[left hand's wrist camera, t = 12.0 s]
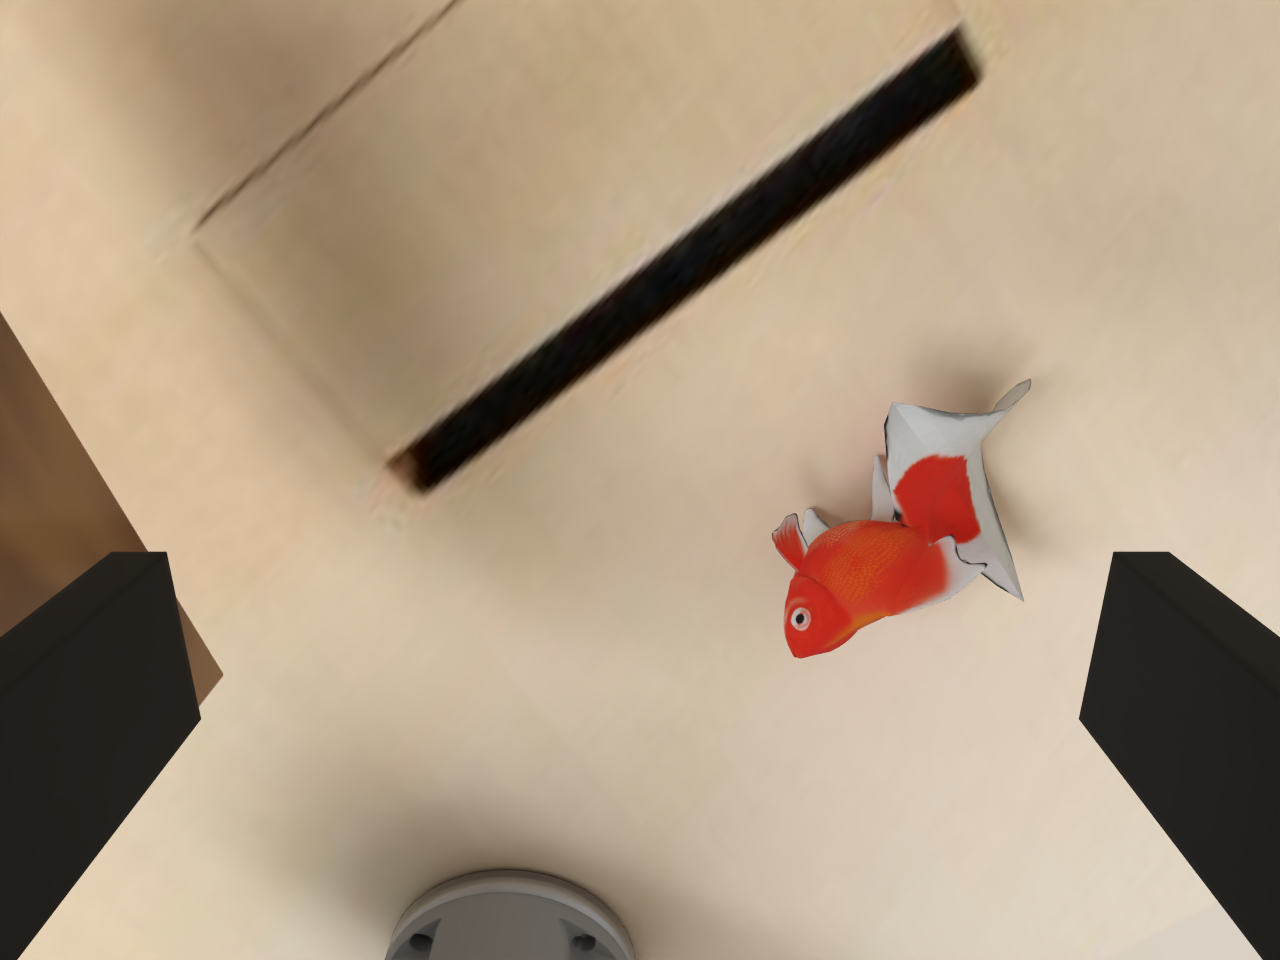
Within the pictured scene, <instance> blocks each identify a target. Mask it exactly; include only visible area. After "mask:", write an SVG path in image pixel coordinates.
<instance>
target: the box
mask: <svg viewBox="0 0 1280 960" xmlns="http://www.w3.org/2000/svg"><path fill="white" fill-rule="evenodd" d="M110 552H148V551H147V549H146V547H145V546H144V544H143V543H142V541H141V539H140V538H139V536H138V534H137V533H136V531H135V530H134V528H133V526H132V525H131V523H130V521H129V520H128V518H127V517H126V515H125V513H124V512H123V510H122V508H121V507H120V505H119V504H118V502H117V500H116V499H115V497H114V495H113V494H112V492H111V491H110V489H109V487H108V486H107V484H106V482H105V481H104V479H103V478H102V476H101V474H100V473H99V471H98V469H97V468H96V466H95V464H94V463H93V461H92V460H91V458H90V456H89V455H88V453H87V451H86V450H85V448H84V447H83V445H82V443H81V442H80V440H79V438H78V437H77V435H76V434H75V432H74V430H73V429H72V427H71V425H70V424H69V422H68V421H67V419H66V417H65V416H64V414H63V412H62V411H61V409H60V408H59V406H58V404H57V403H56V401H55V399H54V398H53V396H52V395H51V393H50V391H49V390H48V388H47V386H46V385H45V383H44V382H43V380H42V378H41V377H40V375H39V373H38V372H37V370H36V369H35V367H34V365H33V364H32V362H31V360H30V359H29V357H28V356H27V354H26V352H25V351H24V349H23V347H22V346H21V344H20V343H19V341H18V339H17V338H16V336H15V334H14V333H13V331H12V330H11V328H10V326H9V325H8V323H7V321H6V320H5V318H4V317H3V315H2V313H1V312H0V637H1V636H2V635H4V634H5V633H6V632H8V631H9V630H10V629H12V628H13V627H14V626H15V625H17V624H18V623H19V622H21V621H22V620H23V619H25V618H26V617H27V616H28V615H30V614H31V613H32V612H34V611H35V610H36V609H38V608H39V607H40V606H41V605H43V604H44V603H45V602H47V601H48V600H49V599H51V598H52V597H53V596H54V595H56V594H57V593H58V592H60V591H61V590H62V589H64V588H65V587H66V586H67V585H69V584H70V583H71V582H73V581H74V580H75V579H77V578H78V577H79V576H80V575H82V574H83V573H84V572H86V571H87V570H88V569H90V568H91V567H92V566H93V565H95V564H96V563H97V562H99V561H100V560H101V559H102V558H104V557H105V556H106V555H108V554H109V553H110ZM176 600H177V605H178V610H179V615H180V619H181V624H182V629H183V634H184V639H185V644H186V648H187V653H188V658H189V663H190V668H191V673H192V677H193V682H194V687H195V692H196V697H197V702H198V706H200V705H201V703H202V702H203V701H204V699H205V698H206V697H207V696H208V694H209V693H210V692H211V691H212V689H213V688H214V687H215V685H216V684H217V683H218V682H219V680H220V679H221V678H222V677H223V673H222V671H221V669H220V668H219V666H218V664H217V663H216V661H215V660H214V658H213V656H212V655H211V653H210V651H209V650H208V648H207V647H206V645H205V643H204V642H203V640H202V638H201V637H200V635H199V634H198V632H197V630H196V629H195V627H194V625H193V624H192V622H191V621H190V619H189V617H188V616H187V614H186V612H185V611H184V609H183V608H182V606H181V604H180V603H179V601H178V599H177V598H176Z"/></svg>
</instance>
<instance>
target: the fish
mask: <svg viewBox="0 0 1280 960" xmlns="http://www.w3.org/2000/svg"><path fill="white" fill-rule="evenodd" d="M1030 386H1031V379H1029V380H1026V381H1024V382H1021V383H1019V384H1017V385H1016V386H1015V387H1014V388H1013V389H1012V390H1010V391H1009V392H1008V393H1007V394H1006V395H1005V396H1004V397H1003V398H1002V399H1001V400H1000V401H999V402H997V404H996V405H995V407H994V409H993V411H992V412H988V413H983V414H968V413H948V412H944V411H939V410H935V409H930V408H926V407H921V406H914V405H907V404H901V403H894V402H892V405H891V408H890V410H889V413H888V416H887V418H886V421H885V424H884V431H885V443H886V455H887V468H888V479H889V485H890V489H889V486H888V483H887V481H886V478H885V475H884V472H883V469H882V466H881V463H880V459H879V457H878V456H876V457H875V460H874V471H873V480H872V503H873V509H872V517H871V520H858V521H852V522H848V523H844V524H841V525H838V526H835V527H832V528H830V527H829V526H828V525H827V524H826V523H825V522H824V521H822V520H821V519H820V518H819V517H818V515H817V514H816V513H815V512H814V511H813V510H812V509H808V510H807V511H806V512H805V515H804V522H803V534H802V532H801V530H800V527H799V523H798V517H797V514H795V513H794V514H791V515H789V516H786V518H785V519H784V521H783V522H782V524H781V525H780V527H778V528H777V529H776V530H775V531H774V532H773V533H772V539H773V541H774V543H775V545H776V549H777V550H778V552H779V553H780V554H781V555H782V557H783V558H784V559H785V560H786V561H787V562H788V563H789V564H790V565H791V566H792V567H793V568H794V569H795V570H796V571H795V574H794V577H793V579H792V580H791V582H790V586H789V591H788V596H787V599H786V603H785V613H784V632H785V637H786V640H787V643H788V646H789V648H790V650H791V652H792V654H793V656H794V657H797V658H805V657H808V656H812V655H817V654H821V653H826V652H830V651H832V650H834V649H836V648H838V647H840V646H841V645H843V644H844V643H845V642H847V641H848V640H849V639H850V638H851V637H852V636H853V635H854V634H855V633H856V632H857V631H858V630H859V629H860V628H862V627H864V626H866V625H868V624H871V623H873V622H875V621H877V620H879V619H881V618H883V617H885V616H893V615H898V614H902V613H906V612H910V611H913V610H917V609H920V608H923V607H927V606H930V605H933V604H936V603H939V602H941V601H944V600H947V599H950V598H951V597H952V596H954V595H955V594H956V593H958V592H959V591H960V590H962V589H963V588H965V587H966V586H967V585H968V584H969V583H970V582H971V581H972V580H973V579H975V578H976V577H977V576H978V575H979V574H980V573H981V574H983V575H984V576H985V577H986V578H988V579H989V580H990V581H991V582H993V583H994V584H995V585H997V586H998V587H1000V588H1002V589H1003V590H1005V591H1007V592H1008V593H1010V594H1012V595H1013V596H1015V597H1017V598H1019V599H1020V600H1022V601H1024V599H1023V596H1022V592H1021V588H1020V585H1019V581H1018V578H1017V574H1016V570H1015V567H1014V563H1013V560H1012V556H1011V553H1010V550H1009V547H1008V544H1007V541H1006V538H1005V535H1004V532H1003V529H1002V527H1001V524H1000V521H999V518H998V515H997V512H996V509H995V506H994V502H993V499H992V495H991V492H990V488H989V485H988V481H987V478H986V474H985V471H984V464H983V457H982V450H981V442H982V441H983V439H984V438H985V437H986V436H987V435H988V434H989V432H990V431H991V430H992V429H993V428H994V427H995V426H996V425H997V424H998V423H999V422H1000V421H1001V419H1002V418H1003V417H1004V416H1005V415H1006V414H1007V413H1008V411H1009V410H1010V409H1011V408H1012V407H1013V406H1014V405H1015V404H1016V403H1017V402H1018V401H1019V400H1020V399H1021V398H1022V397H1023V396H1024V395H1025V394H1026V393H1027V392H1028V391H1029V390H1030ZM894 516H895V518H896V520H897V521H899V522H897V523H895V522H892V521H893V519H894ZM964 561H966V562H964Z"/></svg>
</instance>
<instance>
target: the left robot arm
mask: <svg viewBox="0 0 1280 960" xmlns="http://www.w3.org/2000/svg"><path fill="white" fill-rule="evenodd" d="M200 720H201V716H200V711H199V706H198V702H197V697H196V692H195V687H194V682H193V677H192V673H191V668H190V663H189V658H188V653H187V648H186V644H185V639H184V634H183V629H182V624H181V619H180V615H179V610H178V605H177V600H176V595H175V590H174V586H173V581H172V576H171V571H170V566H169V561H168V557H167V552H110V553H109V554H108V555H106V556H105V557H104V558H102V559H101V560H100V561H99V562H97V563H96V564H95V565H93V566H92V567H91V568H90V569H88V570H87V571H86V572H84V573H83V574H82V575H80V576H79V577H78V578H77V579H75V580H74V581H73V582H71V583H70V584H69V585H67V586H66V587H65V588H64V589H62V590H61V591H60V592H58V593H57V594H56V595H54V596H53V597H52V598H51V599H49V600H48V601H47V602H45V603H44V604H43V605H41V606H40V607H39V608H38V609H36V610H35V611H34V612H32V613H31V614H30V615H28V616H27V617H26V618H25V619H23V620H22V621H21V622H19V623H18V624H17V625H15V626H14V627H13V628H12V629H10V630H9V631H8V632H6V633H5V634H4V635H2V636H1V637H0V960H17V959H18V958H19V957H20V955H21V954H22V953H23V951H24V950H25V949H26V948H27V946H28V945H29V944H30V942H31V941H32V940H33V938H34V937H35V936H36V934H37V933H38V932H39V931H40V929H41V928H42V927H43V925H44V924H45V923H46V921H47V920H48V919H49V917H50V916H51V915H52V914H53V912H54V911H55V910H56V908H57V907H58V906H59V904H60V903H61V902H62V900H63V899H64V898H65V897H66V895H67V894H68V893H69V891H70V890H71V889H72V887H73V886H74V885H75V883H76V882H77V881H78V880H79V878H80V877H81V876H82V874H83V873H84V872H85V870H86V869H87V868H88V866H89V865H90V864H91V862H92V861H93V860H94V859H95V857H96V856H97V855H98V853H99V852H100V851H101V849H102V848H103V847H104V845H105V844H106V843H107V842H108V840H109V839H110V838H111V836H112V835H113V834H114V832H115V831H116V830H117V828H118V827H119V826H120V825H121V823H122V822H123V821H124V819H125V818H126V817H127V815H128V814H129V813H130V811H131V810H132V809H133V808H134V806H135V805H136V804H137V802H138V801H139V800H140V798H141V797H142V796H143V794H144V793H145V792H146V791H147V789H148V788H149V787H150V785H151V784H152V783H153V781H154V780H155V779H156V777H157V776H158V775H159V774H160V772H161V771H162V770H163V768H164V767H165V766H166V764H167V763H168V762H169V760H170V759H171V758H172V756H173V755H174V754H175V753H176V751H177V750H178V749H179V747H180V746H181V745H182V743H183V742H184V741H185V739H186V738H187V737H188V736H189V734H190V733H191V732H192V730H193V729H194V728H195V726H196V725H197V724H198V722H199V721H200ZM1079 720H1080V721H1081V722H1082V724H1083V725H1084V726H1085V728H1086V729H1087V730H1088V732H1089V733H1090V734H1091V736H1092V737H1093V738H1094V739H1095V741H1096V742H1097V743H1098V745H1099V746H1100V747H1101V749H1102V750H1103V751H1104V753H1105V754H1106V755H1107V756H1108V758H1109V759H1110V760H1111V762H1112V763H1113V764H1114V766H1115V767H1116V768H1117V770H1118V771H1119V772H1120V774H1121V775H1122V776H1123V777H1124V779H1125V780H1126V781H1127V783H1128V784H1129V785H1130V787H1131V788H1132V789H1133V791H1134V792H1135V793H1136V794H1137V796H1138V797H1139V798H1140V800H1141V801H1142V802H1143V804H1144V805H1145V806H1146V808H1147V809H1148V810H1149V811H1150V813H1151V814H1152V815H1153V817H1154V818H1155V819H1156V821H1157V822H1158V823H1159V825H1160V826H1161V827H1162V828H1163V830H1164V831H1165V832H1166V834H1167V835H1168V836H1169V838H1170V839H1171V840H1172V842H1173V843H1174V844H1175V845H1176V847H1177V848H1178V849H1179V851H1180V852H1181V853H1182V855H1183V856H1184V857H1185V859H1186V860H1187V861H1188V863H1189V864H1190V865H1191V866H1192V868H1193V869H1194V870H1195V872H1196V873H1197V874H1198V876H1199V877H1200V878H1201V880H1202V881H1203V882H1204V883H1205V885H1206V886H1207V887H1208V889H1209V890H1210V891H1211V893H1212V894H1213V895H1214V897H1215V898H1216V899H1217V900H1218V902H1219V903H1220V904H1221V906H1222V907H1223V908H1224V909H1225V911H1226V912H1227V914H1228V915H1229V916H1230V917H1231V919H1232V920H1233V921H1234V923H1235V924H1236V925H1237V927H1238V928H1239V929H1240V931H1241V932H1242V933H1243V934H1244V936H1245V937H1246V938H1247V940H1248V941H1249V942H1250V944H1251V945H1252V946H1253V948H1254V949H1255V950H1256V951H1257V953H1258V954H1259V955H1260V957H1261V958H1262V959H1263V960H1280V637H1279V636H1278V635H1276V634H1275V633H1274V632H1272V631H1271V630H1270V629H1268V628H1267V627H1266V626H1265V625H1263V624H1262V623H1261V622H1259V621H1258V620H1257V619H1255V618H1254V617H1253V616H1252V615H1250V614H1249V613H1248V612H1246V611H1245V610H1244V609H1242V608H1241V607H1240V606H1239V605H1237V604H1236V603H1235V602H1233V601H1232V600H1231V599H1229V598H1228V597H1227V596H1226V595H1224V594H1223V593H1222V592H1220V591H1219V590H1218V589H1216V588H1215V587H1214V586H1213V585H1211V584H1210V583H1209V582H1207V581H1206V580H1205V579H1203V578H1202V577H1201V576H1200V575H1198V574H1197V573H1196V572H1194V571H1193V570H1192V569H1190V568H1189V567H1188V566H1187V565H1185V564H1184V563H1183V562H1181V561H1180V560H1179V559H1178V558H1176V557H1175V556H1174V555H1172V554H1171V553H1170V552H1113V557H1112V561H1111V566H1110V571H1109V576H1108V581H1107V586H1106V590H1105V595H1104V600H1103V605H1102V610H1101V615H1100V619H1099V624H1098V629H1097V634H1096V639H1095V644H1094V648H1093V653H1092V658H1091V663H1090V668H1089V673H1088V677H1087V682H1086V687H1085V692H1084V697H1083V702H1082V706H1081V711H1080V716H1079ZM385 960H635V955H634V950H633V946H632V943H631V940H630V938H629V936H628V934H627V932H626V930H625V928H624V927H623V925H622V924H621V922H620V921H619V919H618V918H617V917H616V916H615V914H614V913H613V912H612V911H611V910H610V909H609V908H608V907H607V906H606V905H604V904H603V903H602V902H601V901H600V900H598V899H597V898H596V897H594V896H593V895H591V894H590V893H588V892H587V891H585V890H583V889H581V888H579V887H578V886H575V885H573V884H571V883H569V882H566V881H564V880H561V879H558V878H555V877H552V876H548V875H544V874H539V873H534V872H528V871H519V870H493V871H485V872H478V873H473V874H468V875H465V876H461V877H458V878H455V879H452V880H450V881H447V882H445V883H443V884H441V885H439V886H437V887H435V888H433V889H432V890H430V891H428V892H427V893H425V894H424V895H423V896H421V897H420V898H419V899H417V900H416V901H415V902H414V903H413V904H412V905H411V906H410V907H409V908H408V910H407V911H406V912H405V913H404V914H403V916H402V917H401V919H400V920H399V922H398V924H397V926H396V928H395V930H394V933H393V936H392V938H391V942H390V945H389V948H388V951H387V954H386V958H385Z"/></svg>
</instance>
